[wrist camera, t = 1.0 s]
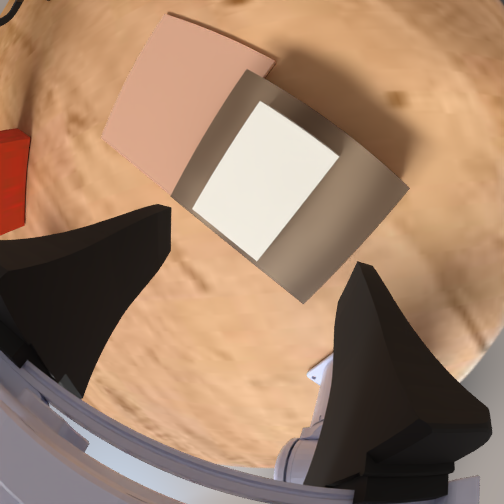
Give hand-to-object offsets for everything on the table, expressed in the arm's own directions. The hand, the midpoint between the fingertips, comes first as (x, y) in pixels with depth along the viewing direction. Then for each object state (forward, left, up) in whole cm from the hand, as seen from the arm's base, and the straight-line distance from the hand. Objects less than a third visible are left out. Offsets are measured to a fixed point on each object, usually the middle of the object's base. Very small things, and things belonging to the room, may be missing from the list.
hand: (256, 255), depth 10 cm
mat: (+16, 0, -14) cm, 21 cm away
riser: (+2, 0, -14) cm, 14 cm away
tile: (+3, 0, -10) cm, 11 cm away
